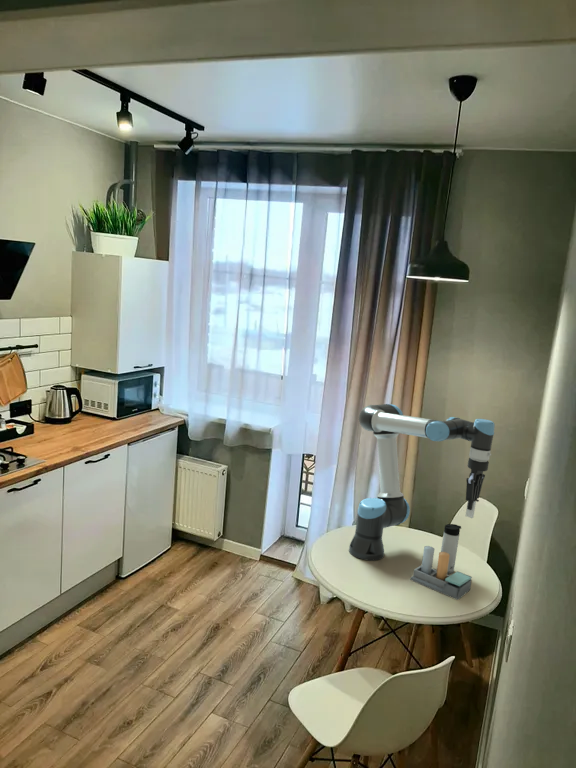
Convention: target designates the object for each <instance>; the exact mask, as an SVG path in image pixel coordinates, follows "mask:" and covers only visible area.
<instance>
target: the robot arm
mask: <svg viewBox="0 0 576 768" xmlns="http://www.w3.org/2000/svg"><path fill="white" fill-rule="evenodd" d="M358 422H359V424H360V427H362V428H363V429H364V430H365V431H367V432H373V433H372V434H373V436H374V437H375V438H376V440H377V441H376V443H377V444H376V445H377V455H378V456H377V457H378V471H379V485H380V488H379V490H380V491H379V493H378V494H377V497H373V498H372V497H367V498H364V499H362V500H361V501H360V502H359V504H358V508H357V516H356V525H355V533H354V535H353V537H352V540H351V542H350V543H349V548H348V552H349V553H350V554H351V556H353V557H355V558H357V559H361V560H365V561H379V560H382V559H383V558H384V556H385V548H384V547H385V546H384V542H383V533H384V529H386V528H389V527H390V528H391V527H394V526H399V525H401V524H403V523H405V522H406V521H407V520H408V518H409V517H410V512H411V509H410V503H409V502H407V501H408V500H406V498H405V497H404V496H405V495H404V493H402V492H401V489H400V486H401V485H400V474H399V473H400V471H399V458H398V457H399V456H398V443H397V440H398V439H397V438H398V436H399V435H400V434H401V435H402V434H403V435H407V436H408V435H409V436H414V437H420V438H426V439H429V440H430V441H433V442H444V441H448V440H457V439H462V440H465V441H469V442H470V447H469V448H470V449H469V454H468V456H469V458H468V459H467V461H468V462H467V468H469V469H470V473H469V475H468V477H467V478H465V479H466V490H465V501H467V504H466V511H465V517H468V518H470V519H473V518H474V517H475V516H474V515H475V511H476V505H477V503H478V502H480V499H479V498H480V495H481V490H482V487H483V483H484V480H485V478H486V474H484V472H487V471H488V469H489V464H490V463H489V461H490V457H491V456H492V453H491V452H492V444H493V440H494V435H495V423H494V421H492V420H490V419H484V418H476V419H475V420H474V421H469V420H466V419H462V418H460V417H456V416H455V417H454V416H450V417H448V418H446V420H438V419H431V418H423V417H417V416H411V415H404V413H403V411H402V410H401V408H399V407H398V406H397V405H395V404H390V403H384V404H383V403H381V404H370V405H367V406H365V407H363V408H362V410H360V412H359V414H358Z"/></svg>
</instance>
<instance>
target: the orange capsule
mask: <svg viewBox="0 0 576 768" xmlns="http://www.w3.org/2000/svg"><path fill="white" fill-rule="evenodd" d="M449 556H450V555H449V554H448V553H446V552H441V551H440V552H438V558H437V559H438V561H437V567H436V568H437V569H436V570H437V574H436V578H438V579H440V580H443V581H445V579H446V578H447V575H448V574H447V571H448V564H449Z"/></svg>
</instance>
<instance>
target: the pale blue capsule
mask: <svg viewBox="0 0 576 768" xmlns="http://www.w3.org/2000/svg"><path fill="white" fill-rule="evenodd" d="M434 553H435V548H434V547H433V546H430V545H425V546H424V548H423V554H422V562H421V565H422V567H421V572H423V573H426V574H428V575H430V574H431V570H432V569H433V562H434V556H435V554H434Z"/></svg>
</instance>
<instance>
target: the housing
mask: <svg viewBox="0 0 576 768" xmlns="http://www.w3.org/2000/svg"><path fill="white" fill-rule="evenodd" d="M421 567H422V564H421V565H419V566H418V567H416V568H414V569H413V575H412V576H410V579H409V580H410V581H412V582H415V583H417V584H418V585H422V586H424V587H426V588H429V589H431V590H434V591H436V592H438V593H441V594H443V595H445V596H448V597H450V598H452V599H455V600H457V601H458V600H460V599H461V598H462V597H464V595H466V594H468V592H469V591H470V590H471V588H472V587H471V586H472V581H473V580H472V578H471V579H470V580H469V581H467V582H466V583H464V584H462V585H461V586H457V585H455V584H452V583H450V582H448V581H443V580H440V579H438V578H436V574H437V569H435V568H432V570H431V574H430V575H428V574H426V573H423V572H421ZM449 576H451V574H447V577H449Z"/></svg>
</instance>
